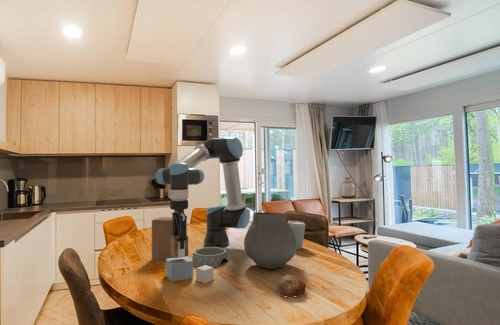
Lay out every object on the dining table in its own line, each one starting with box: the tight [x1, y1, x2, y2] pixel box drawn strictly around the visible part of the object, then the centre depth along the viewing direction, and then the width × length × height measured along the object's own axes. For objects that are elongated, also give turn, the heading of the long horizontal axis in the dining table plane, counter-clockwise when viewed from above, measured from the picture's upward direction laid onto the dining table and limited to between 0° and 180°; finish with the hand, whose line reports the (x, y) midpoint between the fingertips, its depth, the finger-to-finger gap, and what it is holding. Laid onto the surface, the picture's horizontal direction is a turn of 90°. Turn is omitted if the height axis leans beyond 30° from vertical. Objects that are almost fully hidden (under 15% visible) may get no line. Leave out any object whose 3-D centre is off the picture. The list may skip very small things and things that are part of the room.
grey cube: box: [195, 265, 215, 284], centre depth 127 cm, size 5×5×5 cm
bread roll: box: [276, 274, 307, 298], centre depth 113 cm, size 10×10×8 cm
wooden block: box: [151, 216, 173, 261], centre depth 161 cm, size 10×10×20 cm
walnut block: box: [170, 235, 189, 258], centre depth 131 cm, size 6×6×8 cm
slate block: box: [165, 256, 194, 283], centre depth 131 cm, size 9×9×7 cm
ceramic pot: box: [243, 211, 298, 270], centre depth 145 cm, size 24×24×25 cm
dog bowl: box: [191, 246, 229, 268], centre depth 153 cm, size 17×18×5 cm
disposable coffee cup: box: [287, 220, 306, 250], centre depth 178 cm, size 11×11×15 cm
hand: (179, 254), depth 131 cm, fingers closed on walnut block, 6 cm apart
